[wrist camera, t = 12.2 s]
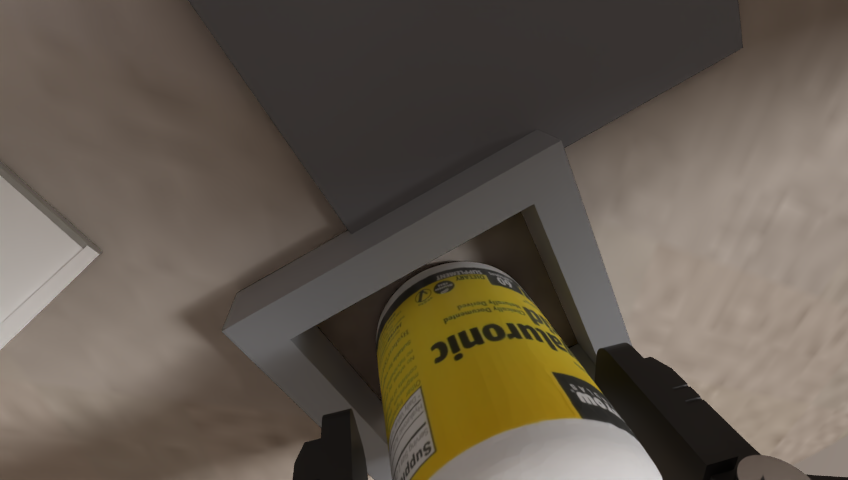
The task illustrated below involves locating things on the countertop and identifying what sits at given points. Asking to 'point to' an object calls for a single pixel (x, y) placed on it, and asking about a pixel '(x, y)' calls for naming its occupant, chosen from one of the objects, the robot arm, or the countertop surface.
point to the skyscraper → (34, 254)
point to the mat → (452, 78)
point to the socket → (409, 250)
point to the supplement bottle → (491, 388)
